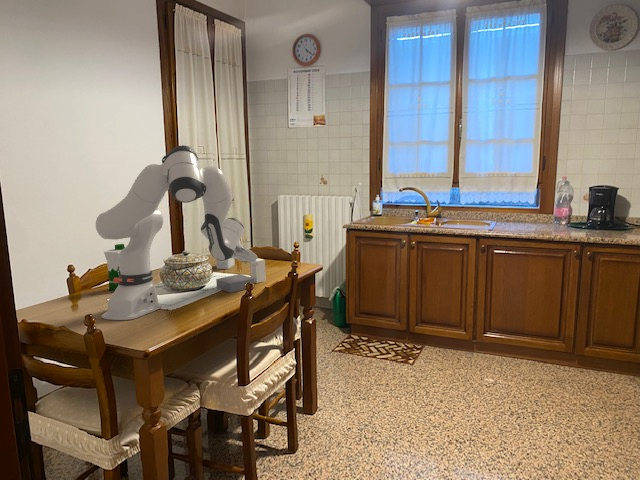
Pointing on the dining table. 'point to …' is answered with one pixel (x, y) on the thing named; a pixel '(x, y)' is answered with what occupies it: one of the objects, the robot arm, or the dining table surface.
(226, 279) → the block
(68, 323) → the dining table surface
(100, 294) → the dining table surface
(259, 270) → the cream block
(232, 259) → the light bulb box
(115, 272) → the milk carton
